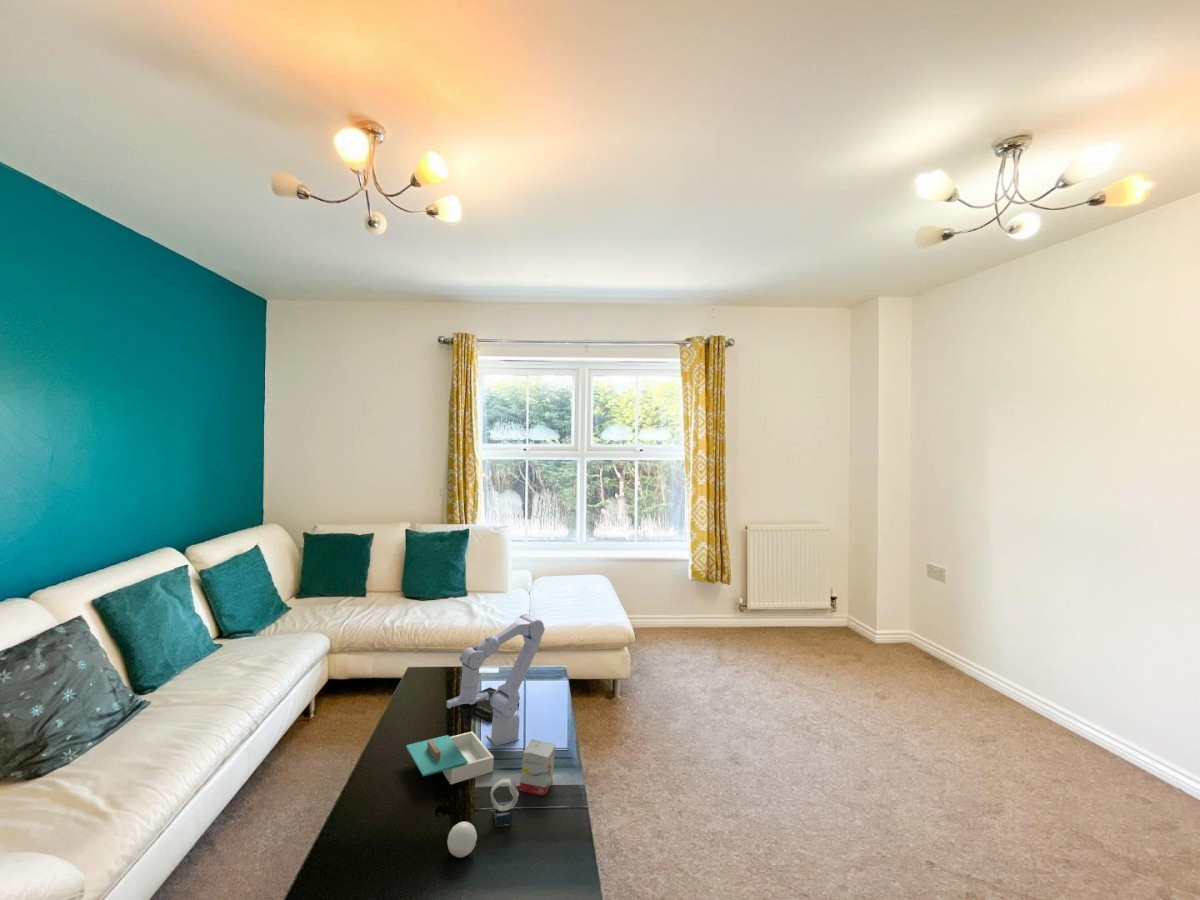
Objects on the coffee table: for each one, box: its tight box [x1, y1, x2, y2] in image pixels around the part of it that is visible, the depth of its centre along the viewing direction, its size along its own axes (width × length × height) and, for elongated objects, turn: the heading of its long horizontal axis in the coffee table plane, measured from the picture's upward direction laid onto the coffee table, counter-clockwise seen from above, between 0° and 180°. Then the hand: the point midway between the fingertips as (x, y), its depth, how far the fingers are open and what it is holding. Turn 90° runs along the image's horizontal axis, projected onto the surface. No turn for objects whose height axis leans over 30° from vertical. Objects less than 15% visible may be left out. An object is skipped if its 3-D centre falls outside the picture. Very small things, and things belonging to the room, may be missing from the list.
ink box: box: [519, 739, 557, 796], centre depth 162 cm, size 9×9×12 cm
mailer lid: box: [405, 734, 468, 777], centre depth 165 cm, size 14×18×3 cm
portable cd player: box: [472, 686, 520, 723], centre depth 209 cm, size 16×17×4 cm
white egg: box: [446, 821, 478, 858], centre depth 133 cm, size 10×7×7 cm
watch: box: [489, 777, 520, 826], centre depth 145 cm, size 6×8×11 cm
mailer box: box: [441, 731, 495, 785], centre depth 170 cm, size 14×18×5 cm
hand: (465, 724), depth 177 cm, fingers closed
